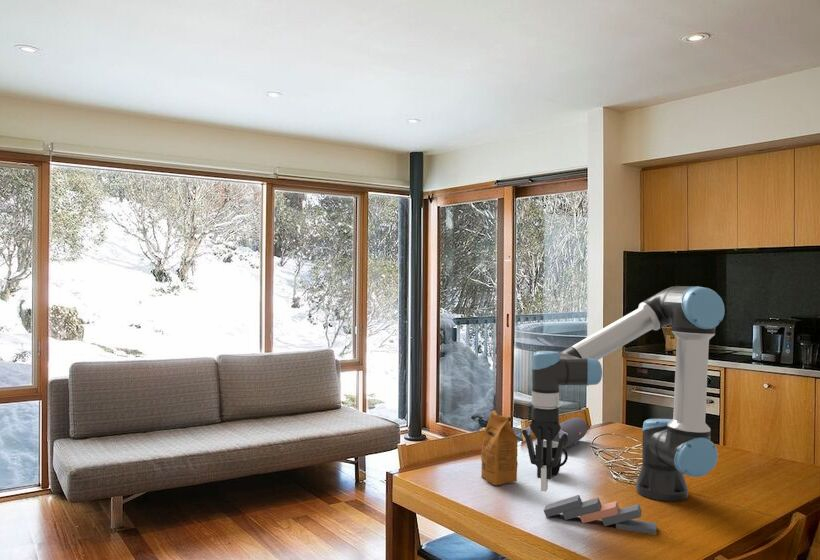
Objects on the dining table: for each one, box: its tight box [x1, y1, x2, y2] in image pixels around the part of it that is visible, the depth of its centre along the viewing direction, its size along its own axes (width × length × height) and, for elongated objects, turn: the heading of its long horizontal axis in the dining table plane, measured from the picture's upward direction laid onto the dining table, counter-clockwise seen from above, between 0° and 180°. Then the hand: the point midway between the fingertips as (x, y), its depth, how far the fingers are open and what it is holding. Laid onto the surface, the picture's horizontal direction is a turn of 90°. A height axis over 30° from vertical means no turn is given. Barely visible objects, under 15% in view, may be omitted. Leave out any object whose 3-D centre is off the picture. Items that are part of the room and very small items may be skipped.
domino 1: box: [543, 494, 583, 518], centre depth 180 cm, size 2×5×10 cm
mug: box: [534, 440, 569, 477], centre depth 220 cm, size 12×9×10 cm
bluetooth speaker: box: [553, 416, 589, 450], centre depth 256 cm, size 23×9×10 cm, turn 147°
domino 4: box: [601, 503, 643, 527], centre depth 174 cm, size 2×5×10 cm
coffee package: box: [480, 410, 519, 486], centre depth 212 cm, size 10×12×22 cm
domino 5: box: [615, 519, 658, 536], centre depth 172 cm, size 2×5×10 cm
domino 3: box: [579, 500, 620, 524], centre depth 176 cm, size 2×5×10 cm
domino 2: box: [561, 497, 602, 521], centre depth 178 cm, size 2×5×10 cm
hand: (544, 489), depth 181 cm, fingers closed
